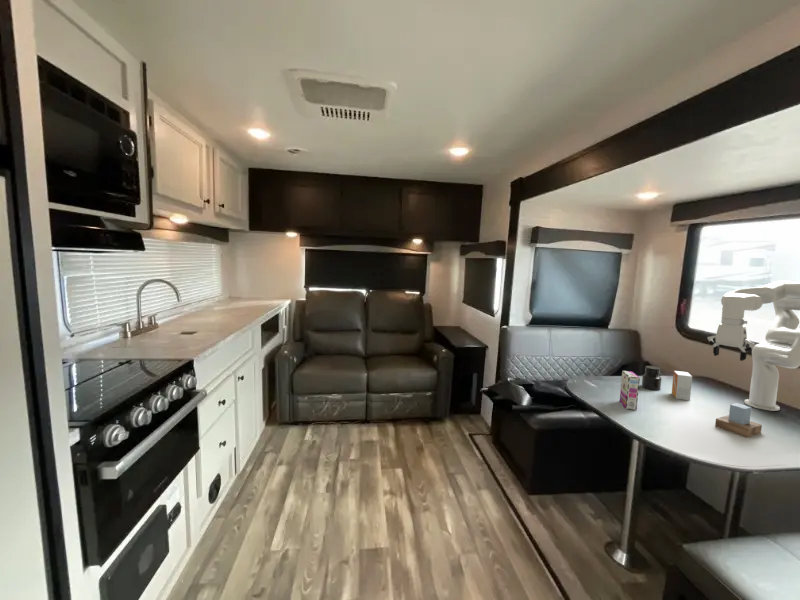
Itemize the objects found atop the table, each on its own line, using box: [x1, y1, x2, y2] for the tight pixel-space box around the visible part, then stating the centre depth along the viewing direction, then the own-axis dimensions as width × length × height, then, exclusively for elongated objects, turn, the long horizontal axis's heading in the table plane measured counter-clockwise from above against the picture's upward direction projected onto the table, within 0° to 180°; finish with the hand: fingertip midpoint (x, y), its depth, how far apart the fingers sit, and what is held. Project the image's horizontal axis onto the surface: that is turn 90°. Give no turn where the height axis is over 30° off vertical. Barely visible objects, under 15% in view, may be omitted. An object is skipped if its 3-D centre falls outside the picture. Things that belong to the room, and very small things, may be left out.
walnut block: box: [714, 414, 763, 439], centre depth 156 cm, size 11×11×4 cm
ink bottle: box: [641, 365, 662, 391], centre depth 206 cm, size 10×9×12 cm
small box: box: [671, 370, 693, 401], centre depth 192 cm, size 8×6×13 cm
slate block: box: [728, 402, 753, 425], centre depth 155 cm, size 5×5×7 cm
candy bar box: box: [619, 370, 641, 411], centre depth 179 cm, size 11×5×16 cm, turn 163°
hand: (729, 357), depth 170 cm, fingers open, 9 cm apart
